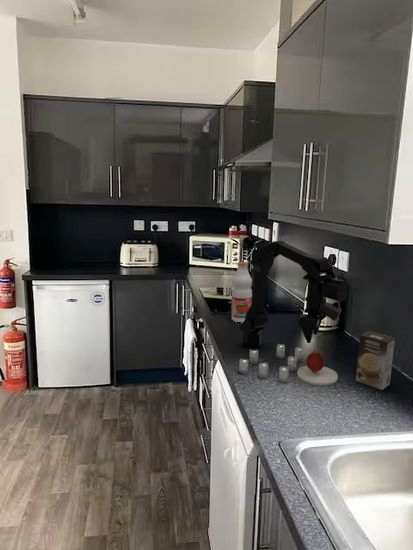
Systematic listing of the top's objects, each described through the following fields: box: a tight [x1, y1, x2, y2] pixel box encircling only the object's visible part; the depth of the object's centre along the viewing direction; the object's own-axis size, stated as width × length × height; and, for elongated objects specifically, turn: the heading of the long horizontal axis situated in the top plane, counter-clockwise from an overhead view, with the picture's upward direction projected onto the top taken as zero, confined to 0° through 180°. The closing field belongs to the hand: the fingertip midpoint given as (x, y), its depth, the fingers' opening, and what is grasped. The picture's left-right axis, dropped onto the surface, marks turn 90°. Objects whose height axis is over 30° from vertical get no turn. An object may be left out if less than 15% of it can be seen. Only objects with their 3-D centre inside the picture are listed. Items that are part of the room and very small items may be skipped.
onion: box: [305, 349, 325, 373], centre depth 139 cm, size 6×6×8 cm
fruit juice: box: [231, 261, 253, 324], centre depth 197 cm, size 9×9×28 cm
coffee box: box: [355, 330, 396, 391], centre depth 134 cm, size 9×6×16 cm
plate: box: [296, 365, 339, 387], centre depth 140 cm, size 13×13×1 cm
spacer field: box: [238, 343, 305, 384], centre depth 148 cm, size 17×22×4 cm
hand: (312, 338), depth 143 cm, fingers open, 9 cm apart
